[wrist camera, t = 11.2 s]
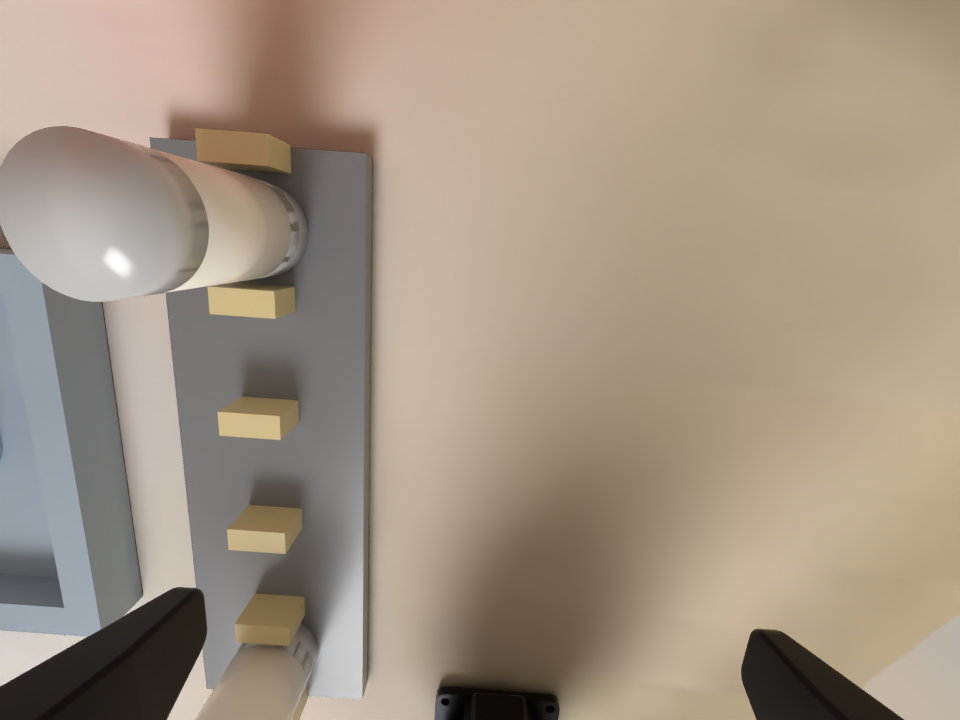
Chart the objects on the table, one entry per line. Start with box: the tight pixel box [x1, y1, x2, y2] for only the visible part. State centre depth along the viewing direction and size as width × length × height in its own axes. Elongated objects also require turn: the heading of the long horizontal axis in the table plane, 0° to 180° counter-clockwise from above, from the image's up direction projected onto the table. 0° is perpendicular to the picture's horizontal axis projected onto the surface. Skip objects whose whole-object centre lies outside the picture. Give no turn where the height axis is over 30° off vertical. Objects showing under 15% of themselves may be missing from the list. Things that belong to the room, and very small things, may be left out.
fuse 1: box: [0, 126, 308, 302], centre depth 14 cm, size 4×4×8 cm
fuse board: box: [150, 128, 373, 720], centre depth 20 cm, size 26×8×3 cm, turn 176°
